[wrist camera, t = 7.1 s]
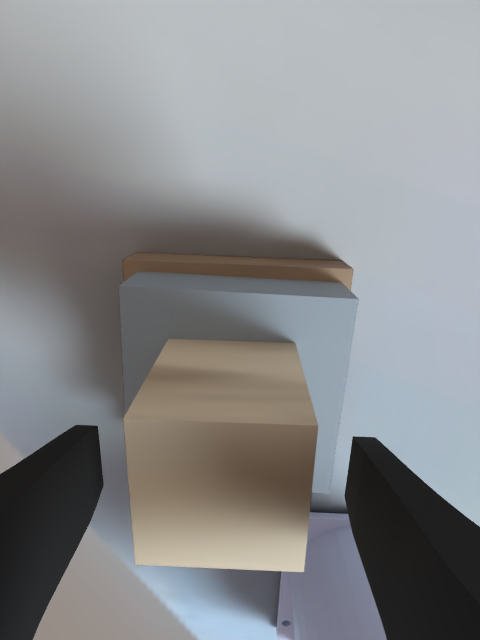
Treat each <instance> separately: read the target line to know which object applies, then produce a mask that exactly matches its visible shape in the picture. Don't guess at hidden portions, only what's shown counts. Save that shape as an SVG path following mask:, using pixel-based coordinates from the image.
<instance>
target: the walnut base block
mask: <svg viewBox="0 0 480 640" xmlns="http://www.w3.org/2000/svg"><path fill="white" fill-rule="evenodd" d="M122 261H123V278H124V281H126V280H127V279H128V278H130V277H131V276H133V275H134V274H135V273H137V272H138V271H148V272H166V273H183V274H201V275H219V276H236V277H254V278H272V279H290V280H307V281H325V282H342V283H343V284H344V285H345V286H346V287H347V288H348V289H349V290H350V291H351V284H352V276H353V268H351V267H350V266H349V265H347V264H346V263H345V262H344V261H338V260H313V259H289V258H264V257H239V256H214V255H190V254H165V253H140V252H136V253H134V254H132V255H130V256H128V257H127V258H125V259H123V260H122Z"/></svg>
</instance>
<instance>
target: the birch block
mask: <svg viewBox="0 0 480 640" xmlns="http://www.w3.org/2000/svg"><path fill="white" fill-rule="evenodd" d="M123 422H124V435H125V447H126V459H127V471H128V483H129V495H130V507H131V519H132V531H133V543H134V555H135V565H153V566H176V567H198V568H220V569H242V570H264V571H286V572H304V566H305V556H306V546H307V536H308V526H309V516H310V506H311V496H312V485H313V475H314V465H315V455H316V445H317V435H318V422H317V419H316V415H315V412H314V408H313V404H312V401H311V397H310V394H309V390H308V387H307V383H306V379H305V376H304V372H303V369H302V365H301V362H300V358H299V354H298V351H297V347H296V344H295V343H281V342H250V341H218V340H187V339H168V341H167V342H166V344H165V346H164V348H163V349H162V351H161V353H160V355H159V356H158V358H157V360H156V362H155V363H154V365H153V367H152V369H151V370H150V372H149V374H148V376H147V377H146V379H145V381H144V383H143V384H142V386H141V388H140V390H139V392H138V393H137V395H136V397H135V399H134V400H133V402H132V404H131V406H130V407H129V409H128V411H127V413H126V414H125V416H124V418H123Z"/></svg>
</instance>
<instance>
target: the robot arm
mask: <svg viewBox="0 0 480 640" xmlns="http://www.w3.org/2000/svg"><path fill="white" fill-rule="evenodd" d="M102 488H103V475H102V465H101V455H100V445H99V435H98V426H87V425H76V426H74V427H72V428H71V429H69V430H67V431H66V432H64V433H63V434H61V435H60V436H58V437H57V438H55V439H54V440H52V441H51V442H49V443H48V444H46V445H45V446H43V447H42V448H40V449H39V450H37V451H36V452H34V453H33V454H31V455H30V456H28V457H27V458H25V459H23V460H22V461H20V462H19V463H18V464H16V465H15V466H13V467H11V468H10V469H8V470H6V471H5V472H3V473H1V474H0V640H33V637H34V635H35V632H36V630H37V627H38V625H39V623H40V621H41V619H42V616H43V614H44V612H45V610H46V607H47V606H48V603H49V602H50V600H51V598H52V596H53V594H54V592H55V590H56V588H57V586H58V584H59V582H60V580H61V578H62V576H63V574H64V572H65V570H66V568H67V567H68V565H69V563H70V560H71V559H72V557H73V555H74V553H75V551H76V549H77V547H78V545H79V543H80V541H81V539H82V537H83V535H84V533H85V531H86V529H87V527H88V525H89V523H90V521H91V518H92V516H93V513H94V511H95V508H96V505H97V502H98V500H99V497H100V494H101V491H102ZM345 500H346V505H347V511H348V514H337V513H315V512H310V516H309V526H308V536H307V546H306V556H305V566H304V572H286V571H281V580H280V592H279V604H278V616H277V628H276V630H277V637H278V638H279V639H281V640H480V527H479V526H478V525H476V524H475V523H474V522H472V521H471V520H470V519H468V518H467V517H466V516H464V515H463V514H462V513H461V512H459V511H458V510H457V509H456V508H454V507H453V506H452V505H451V504H449V503H448V502H447V501H446V500H444V499H443V498H442V497H441V496H440V495H439V494H437V493H436V492H435V491H434V490H433V489H431V488H430V487H429V486H428V485H427V484H426V483H425V482H423V481H422V480H421V479H420V478H419V477H418V476H417V475H416V474H414V473H413V472H412V471H411V470H410V469H409V468H408V467H407V466H406V465H405V464H404V463H402V462H401V461H400V460H399V459H398V458H397V457H396V456H395V455H394V454H393V453H392V452H391V451H390V450H388V449H387V448H386V447H385V446H384V445H383V444H382V443H381V442H380V441H378V440H377V439H376V438H375V437H353V440H352V447H351V454H350V462H349V469H348V476H347V483H346V490H345Z"/></svg>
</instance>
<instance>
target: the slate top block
mask: <svg viewBox="0 0 480 640" xmlns="http://www.w3.org/2000/svg"><path fill="white" fill-rule="evenodd" d="M358 301H359V299H358V298H357V297H356V296H355V295H354V294H353V293H352V292H351V291H350V290H349V289H348V288H347V287H346V286H345V285H344V284H343V283H342V282H325V281H307V280H290V279H272V278H254V277H236V276H219V275H201V274H183V273H166V272H148V271H138V272H137V273H135V274H134V275H133V276H131V277H130V278H128V279H127V280H126V281H124V282H123V283H122V284H120V285H119V303H120V324H121V346H122V367H123V388H124V409H125V414H126V413H127V411H128V409H129V407H130V406H131V404H132V402H133V400H134V399H135V397H136V395H137V393H138V392H139V390H140V388H141V386H142V384H143V383H144V381H145V379H146V377H147V376H148V374H149V372H150V370H151V369H152V367H153V365H154V363H155V362H156V360H157V358H158V356H159V355H160V353H161V351H162V349H163V348H164V346H165V344H166V342H167V341H168V339H187V340H218V341H250V342H281V343H295V344H296V347H297V351H298V354H299V358H300V362H301V365H302V369H303V372H304V376H305V379H306V383H307V387H308V390H309V394H310V397H311V401H312V404H313V408H314V412H315V415H316V419H317V422H318V435H317V445H316V455H315V465H314V475H313V485H312V493H327V494H329V490H330V483H331V477H332V470H333V464H334V457H335V451H336V444H337V438H338V431H339V425H340V418H341V412H342V405H343V399H344V392H345V386H346V379H347V373H348V366H349V359H350V353H351V346H352V340H353V333H354V327H355V320H356V314H357V307H358ZM127 473H128V471H127Z"/></svg>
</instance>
